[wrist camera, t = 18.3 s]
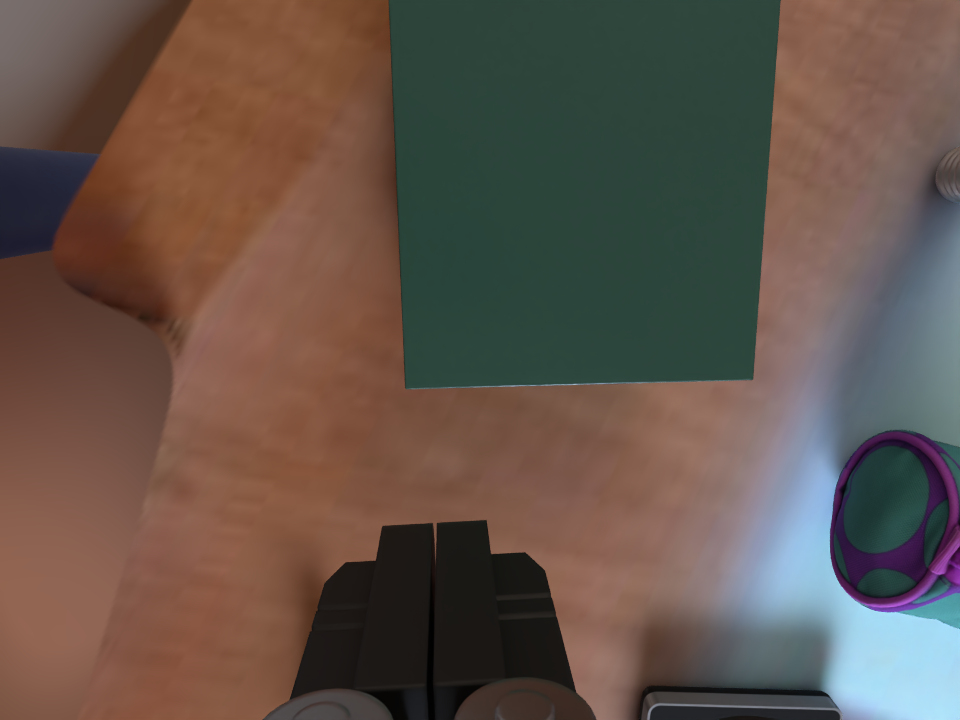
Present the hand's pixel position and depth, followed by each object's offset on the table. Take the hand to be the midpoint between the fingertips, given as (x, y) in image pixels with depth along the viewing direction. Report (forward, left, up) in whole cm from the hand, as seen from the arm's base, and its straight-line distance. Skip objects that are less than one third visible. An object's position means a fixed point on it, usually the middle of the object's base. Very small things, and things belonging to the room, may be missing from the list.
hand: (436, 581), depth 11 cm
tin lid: (+1, +7, -17) cm, 18 cm away
